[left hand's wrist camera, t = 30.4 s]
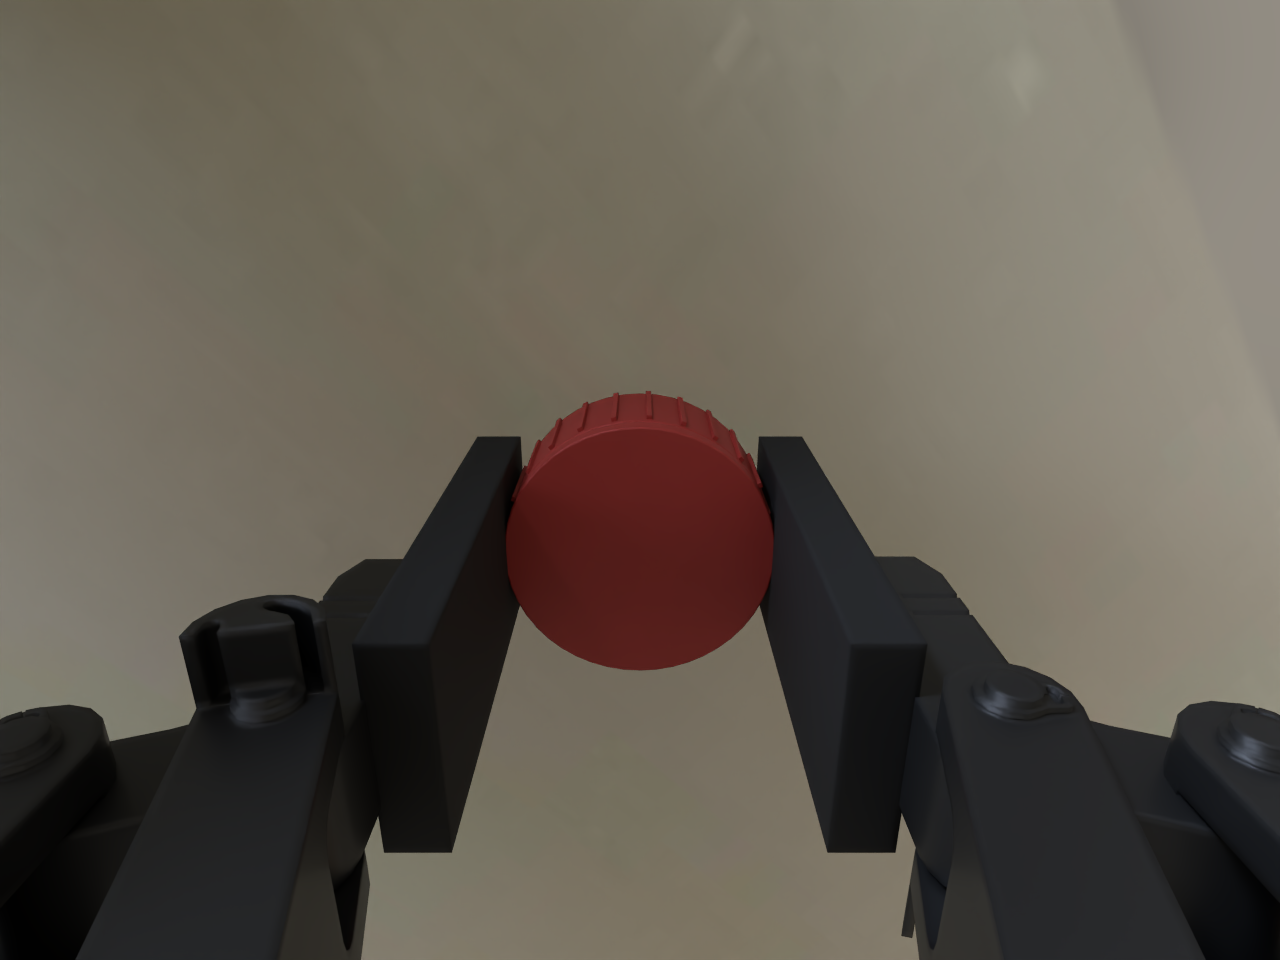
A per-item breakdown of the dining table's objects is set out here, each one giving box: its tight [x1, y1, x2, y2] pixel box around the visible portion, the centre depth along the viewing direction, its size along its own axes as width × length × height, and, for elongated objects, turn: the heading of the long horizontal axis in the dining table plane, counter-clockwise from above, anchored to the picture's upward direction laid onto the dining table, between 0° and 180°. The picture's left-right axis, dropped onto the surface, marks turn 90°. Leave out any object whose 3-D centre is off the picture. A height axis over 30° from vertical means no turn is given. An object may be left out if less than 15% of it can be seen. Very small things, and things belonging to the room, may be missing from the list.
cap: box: [506, 391, 774, 670], centre depth 13 cm, size 4×4×2 cm
